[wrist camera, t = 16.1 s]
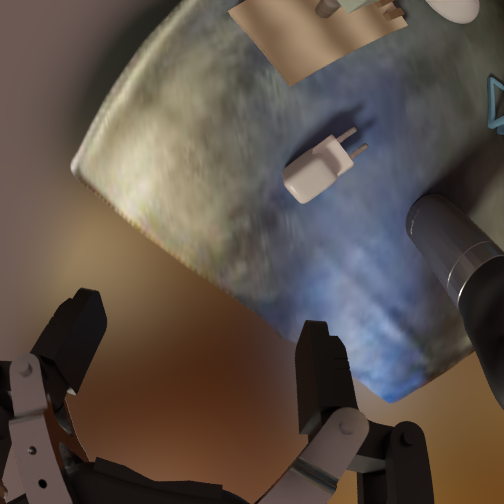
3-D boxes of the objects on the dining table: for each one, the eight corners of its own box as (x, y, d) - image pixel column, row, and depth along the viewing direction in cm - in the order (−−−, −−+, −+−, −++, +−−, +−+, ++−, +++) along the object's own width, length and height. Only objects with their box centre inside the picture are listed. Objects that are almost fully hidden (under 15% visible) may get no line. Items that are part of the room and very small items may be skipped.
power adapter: (343, 116, 33) (356, 123, 28) (364, 145, 35) (379, 157, 30) (276, 167, 37) (278, 181, 33) (299, 193, 39) (304, 211, 34)
